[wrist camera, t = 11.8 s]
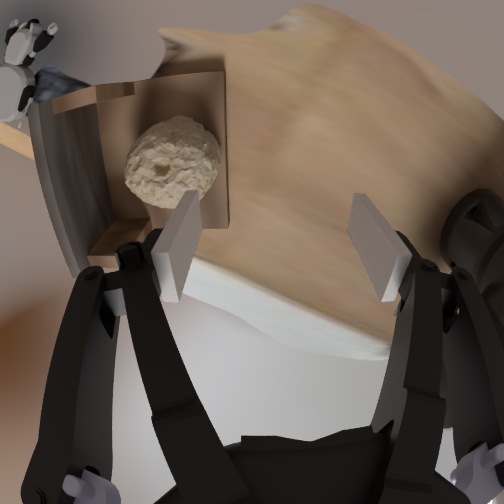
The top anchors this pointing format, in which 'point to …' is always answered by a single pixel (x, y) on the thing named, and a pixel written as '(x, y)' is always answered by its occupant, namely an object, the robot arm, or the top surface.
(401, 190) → the top surface
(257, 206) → the top surface
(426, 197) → the top surface
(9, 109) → the robot toy
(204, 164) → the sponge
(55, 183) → the walnut shelf
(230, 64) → the top surface
